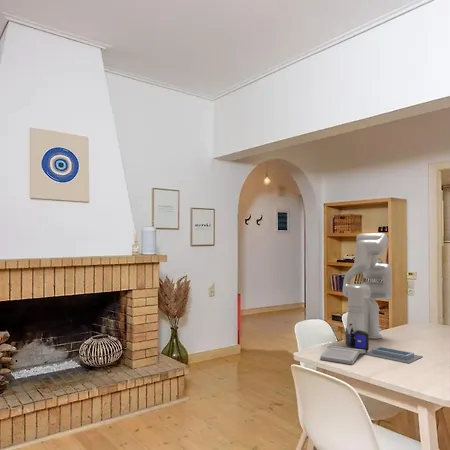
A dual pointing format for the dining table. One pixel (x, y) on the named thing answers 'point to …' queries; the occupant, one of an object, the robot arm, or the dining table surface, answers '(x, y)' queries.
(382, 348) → the switch cradle
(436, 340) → the dining table surface
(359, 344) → the leaning round-cornered charcoal block
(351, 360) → the gadget
